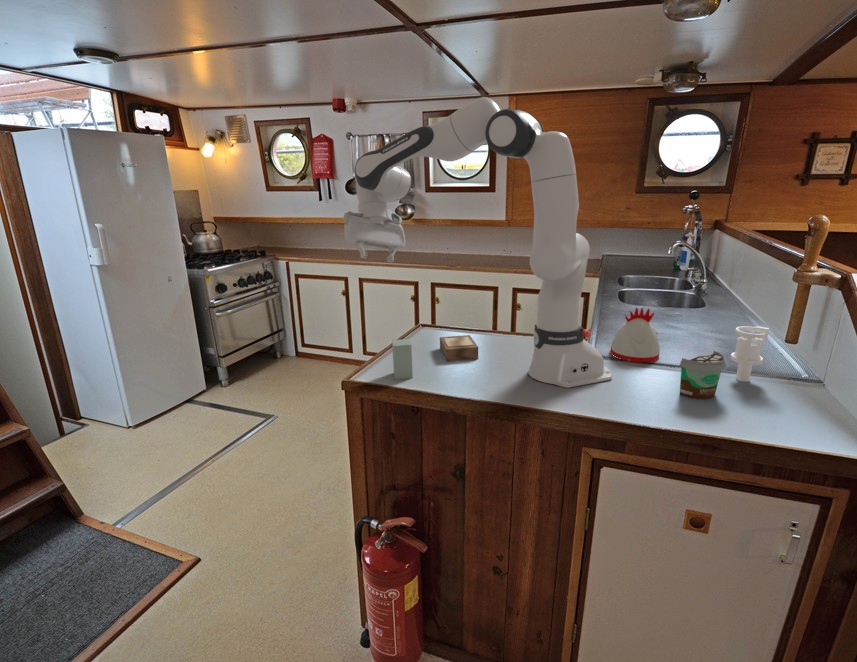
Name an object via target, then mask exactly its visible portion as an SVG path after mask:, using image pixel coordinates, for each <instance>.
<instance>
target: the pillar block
mask: <svg viewBox="0 0 857 662" xmlns="http://www.w3.org/2000/svg"><path fill="white" fill-rule="evenodd" d="M391 345H392V364H393V365H392V366H393V375H394V376H393V377H394V380H406V379H413V378H414V377H413V376H414V375H413V354H412V342H411V339H410V338H407V339H393V340H391Z"/></svg>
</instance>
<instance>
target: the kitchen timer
mask: <svg viewBox="0 0 857 662" xmlns="http://www.w3.org/2000/svg"><path fill="white" fill-rule="evenodd" d="M629 315H630V317H628V316H627V314H624V317H625V320H626V321H625V322H623V323H622V324H621V326H620V327H619V328H618V330H617V331H616V333H615V335H614V338H613V340H612V342H611V345H610V352H611V353H610V354H613V355H614V356H616V357H618V358H621V359H624V360H628V361H627V362H629V361H632V362H631V363H637V362H647V363H652V362H651V361H653V362H656V361H658V360H659V359H660V353H661V352H660V351H661V350H660V349H661V348H660V347H661V346H660V344H659V343H660V342H659V339H658V334H659V333H658V332H657V331H656V330H655V329H654V327H653V325H652V324H651V323H650V322H651V320H652V319H653V317H654V316H655V312H652V313H651V314H650V308H647V310H646V312H645V313H644V308H643V307H641V309H640V312H639V309H638V307H636V308H635V311H634V313H633V312H632V310H630V311H629ZM613 355H612V356H613ZM614 356H613V357H614ZM616 357H615V358H616ZM618 358H617V359H618ZM621 359H620V360H621ZM624 360H623V361H624Z"/></svg>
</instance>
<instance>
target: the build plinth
mask: <svg viewBox="0 0 857 662" xmlns="http://www.w3.org/2000/svg"><path fill="white" fill-rule="evenodd" d="M439 349H441V350H440V352H441V354H442V356H443V359H445V362H457V361H469V360H470V361H471V360H479V346H478V345H477V343H476V341H475V340H474V339H473V338H472V337H471V335H470V334H467V335H452V336H441V337H439Z"/></svg>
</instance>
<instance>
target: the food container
mask: <svg viewBox="0 0 857 662" xmlns="http://www.w3.org/2000/svg"><path fill="white" fill-rule="evenodd" d="M726 366H727V363H726V359H725V356H724V355H723V354H722V353H720V352H719V351H716V350H713V354H709V355H699V356H697V357H694V358H691V359H687V358H683V357H682V358H681V361H680V363H679V367H681V369H680V384H679V385H680V386H679V395H680V396H683V397H686V398H689V399H695V400H710V399H713V398H715V396H716V392H717V387H718V386H719V381H720V378H721V373H722V371H723V370H724V369H725V368H726Z"/></svg>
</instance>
